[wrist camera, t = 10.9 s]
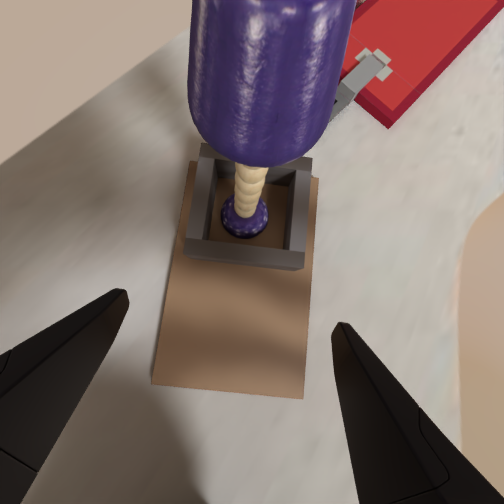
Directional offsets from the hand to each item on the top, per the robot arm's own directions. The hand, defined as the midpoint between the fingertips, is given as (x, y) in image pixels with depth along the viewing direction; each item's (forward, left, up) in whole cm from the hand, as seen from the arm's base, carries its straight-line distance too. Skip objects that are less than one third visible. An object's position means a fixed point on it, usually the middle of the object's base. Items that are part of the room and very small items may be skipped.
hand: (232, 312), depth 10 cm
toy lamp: (+7, 0, -10) cm, 12 cm away
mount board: (+2, 0, -10) cm, 10 cm away
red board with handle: (+29, -12, -11) cm, 33 cm away
